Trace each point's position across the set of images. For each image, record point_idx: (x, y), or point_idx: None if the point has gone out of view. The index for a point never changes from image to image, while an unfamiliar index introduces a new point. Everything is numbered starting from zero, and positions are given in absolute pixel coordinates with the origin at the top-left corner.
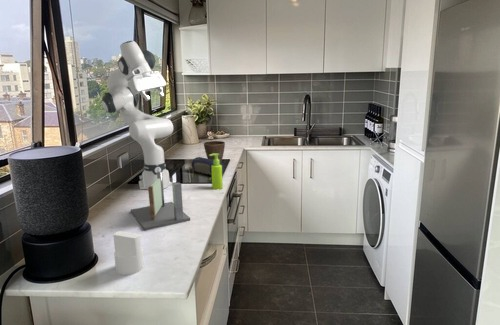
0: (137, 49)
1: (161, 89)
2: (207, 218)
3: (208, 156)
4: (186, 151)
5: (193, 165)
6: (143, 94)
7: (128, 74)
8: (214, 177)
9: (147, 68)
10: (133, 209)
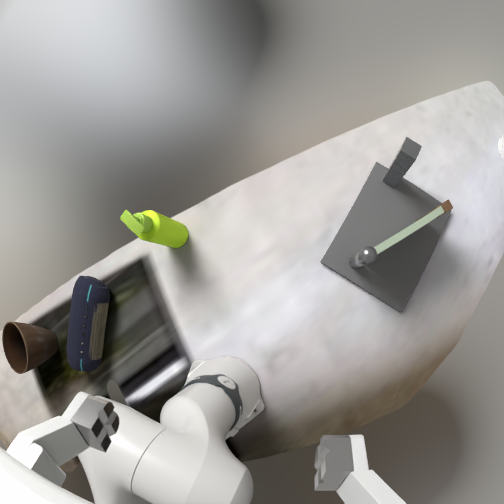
0: None
1: (40, 443)
2: (349, 141)
3: (46, 353)
4: None
5: (96, 361)
6: (392, 499)
7: None
8: (174, 228)
9: None
10: (398, 306)
